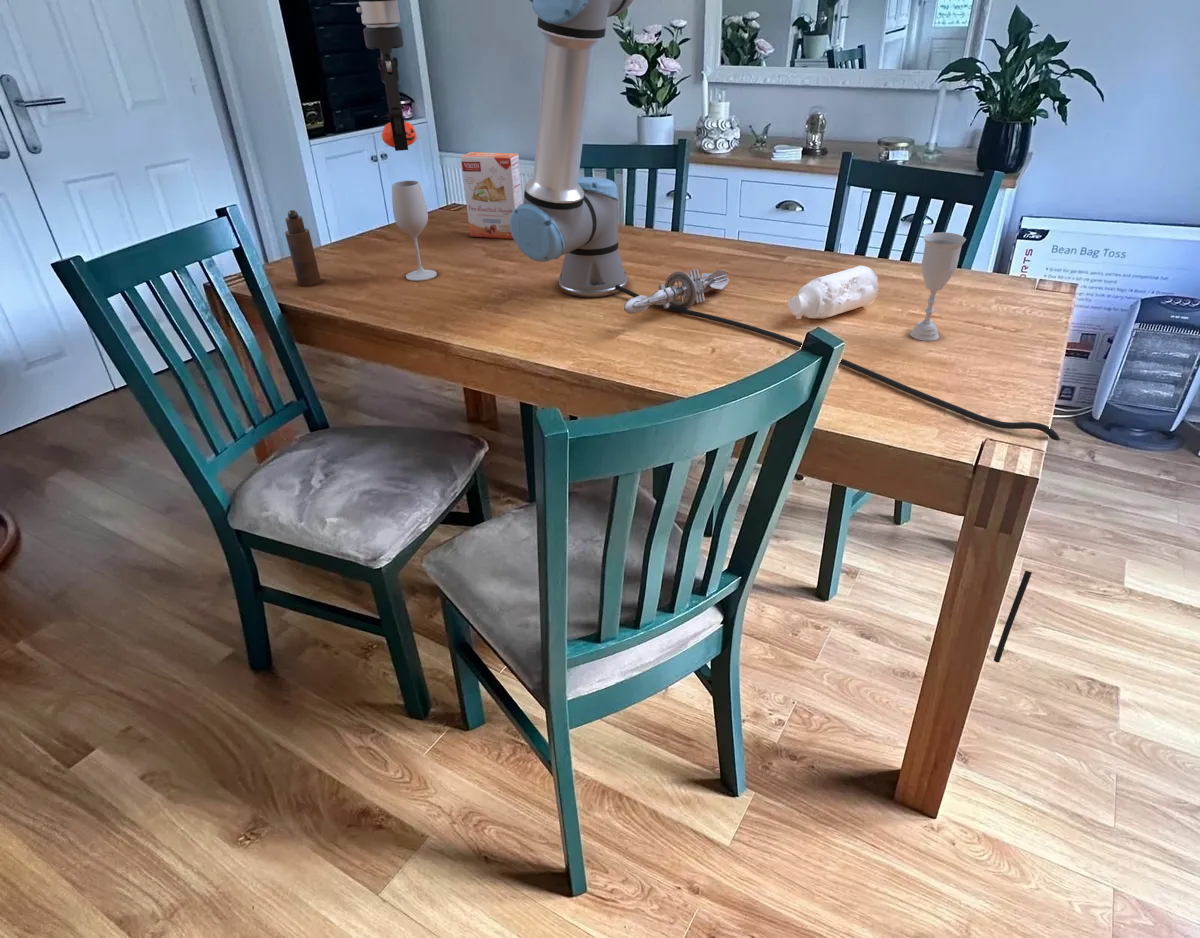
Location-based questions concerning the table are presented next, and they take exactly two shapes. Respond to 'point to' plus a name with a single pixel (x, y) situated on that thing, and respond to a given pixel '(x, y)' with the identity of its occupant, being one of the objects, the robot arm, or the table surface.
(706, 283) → the spaceship
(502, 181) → the cracker box
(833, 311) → the white bottle
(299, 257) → the pepper mill
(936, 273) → the chalice
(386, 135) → the pumpkin
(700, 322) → the table surface
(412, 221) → the wineglass
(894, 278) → the table surface
